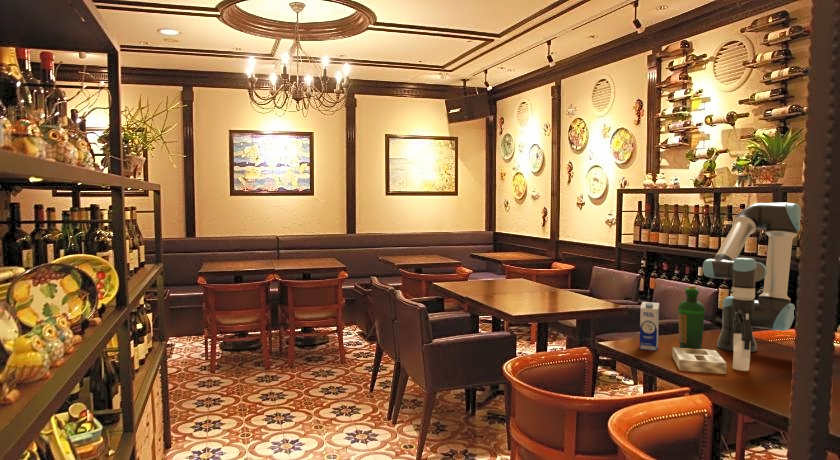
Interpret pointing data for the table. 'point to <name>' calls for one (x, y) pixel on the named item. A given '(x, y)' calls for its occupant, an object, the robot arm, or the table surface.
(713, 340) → the table surface
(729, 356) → the table surface
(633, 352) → the table surface
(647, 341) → the milk carton
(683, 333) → the bottle
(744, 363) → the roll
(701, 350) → the socket board
